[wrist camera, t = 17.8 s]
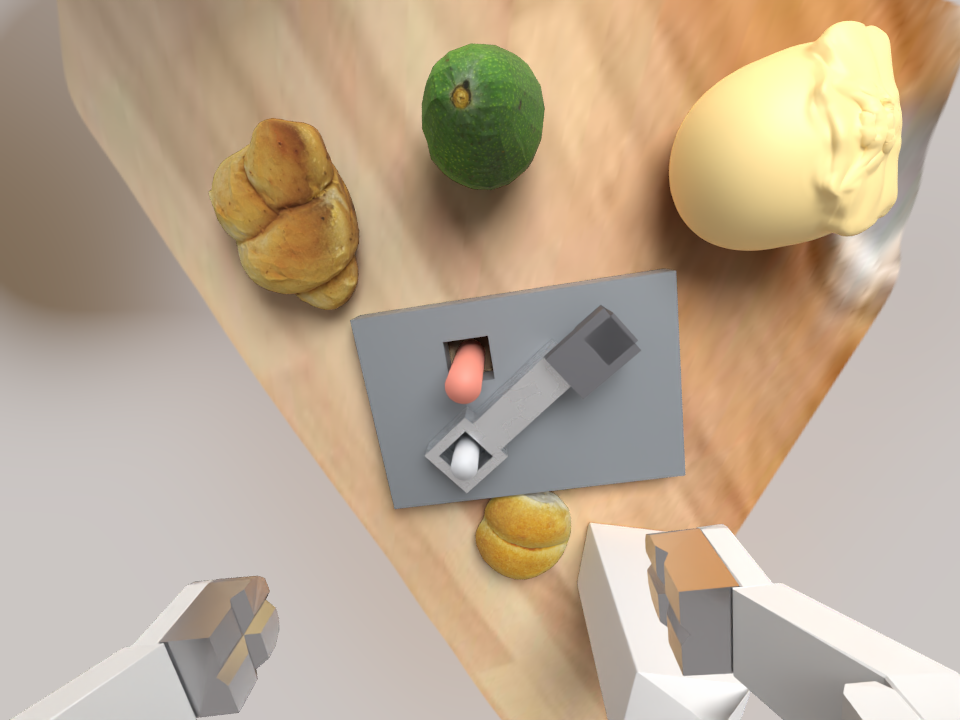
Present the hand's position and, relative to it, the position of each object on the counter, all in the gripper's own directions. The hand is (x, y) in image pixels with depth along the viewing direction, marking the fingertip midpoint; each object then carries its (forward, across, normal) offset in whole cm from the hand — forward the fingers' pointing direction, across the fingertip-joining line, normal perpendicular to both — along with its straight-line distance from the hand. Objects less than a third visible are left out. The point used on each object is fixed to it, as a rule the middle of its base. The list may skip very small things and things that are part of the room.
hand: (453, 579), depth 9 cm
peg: (+28, +2, +2) cm, 29 cm away
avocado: (+29, -2, -14) cm, 32 cm away
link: (+26, -1, +7) cm, 27 cm away
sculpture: (+29, -20, -9) cm, 36 cm away
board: (+28, -2, +6) cm, 29 cm away
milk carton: (+28, -9, +24) cm, 38 cm away
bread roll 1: (+29, +13, -10) cm, 33 cm away
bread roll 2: (+29, 0, +19) cm, 35 cm away
